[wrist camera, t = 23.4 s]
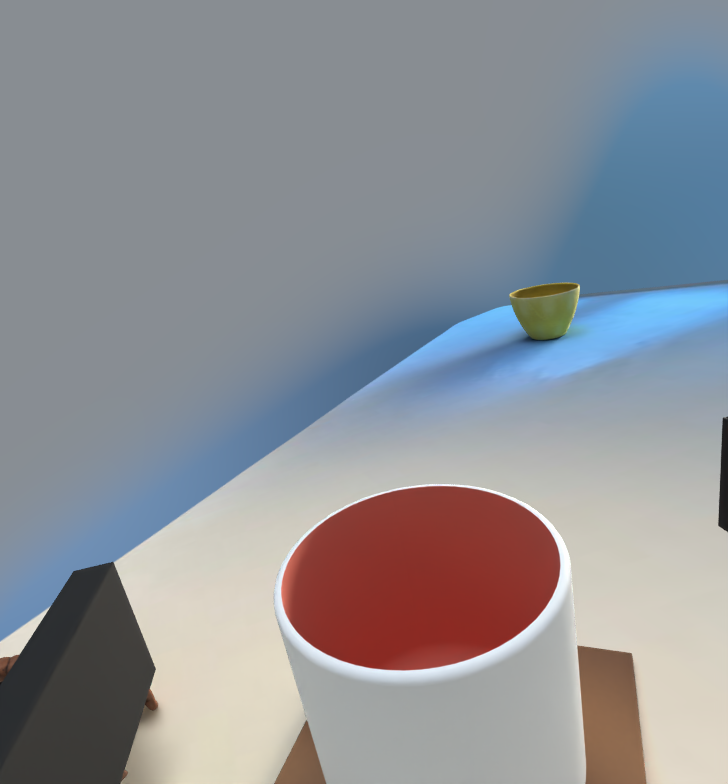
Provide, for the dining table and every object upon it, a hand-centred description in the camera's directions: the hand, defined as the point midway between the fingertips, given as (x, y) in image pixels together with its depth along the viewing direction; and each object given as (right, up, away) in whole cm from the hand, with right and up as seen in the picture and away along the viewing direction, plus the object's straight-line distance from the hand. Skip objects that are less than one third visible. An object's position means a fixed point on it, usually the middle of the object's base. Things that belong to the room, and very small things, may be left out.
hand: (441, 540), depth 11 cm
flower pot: (+27, +12, +68) cm, 75 cm away
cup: (+2, -12, +10) cm, 16 cm away
